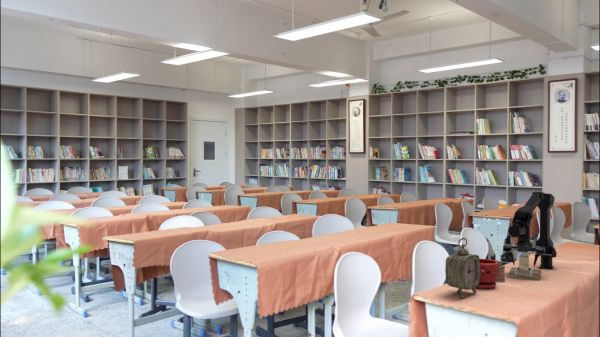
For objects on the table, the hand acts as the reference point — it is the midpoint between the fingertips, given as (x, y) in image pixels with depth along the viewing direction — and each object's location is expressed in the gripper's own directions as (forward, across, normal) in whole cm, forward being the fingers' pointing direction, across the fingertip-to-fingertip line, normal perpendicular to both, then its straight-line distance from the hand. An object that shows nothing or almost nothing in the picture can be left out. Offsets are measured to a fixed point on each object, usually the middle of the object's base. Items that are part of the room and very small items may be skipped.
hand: (524, 265), depth 243 cm
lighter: (+5, -11, -16) cm, 20 cm away
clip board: (+5, 0, +3) cm, 6 cm away
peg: (+4, 0, 0) cm, 4 cm away
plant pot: (+5, -15, -28) cm, 32 cm away
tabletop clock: (+5, -21, -46) cm, 51 cm away
